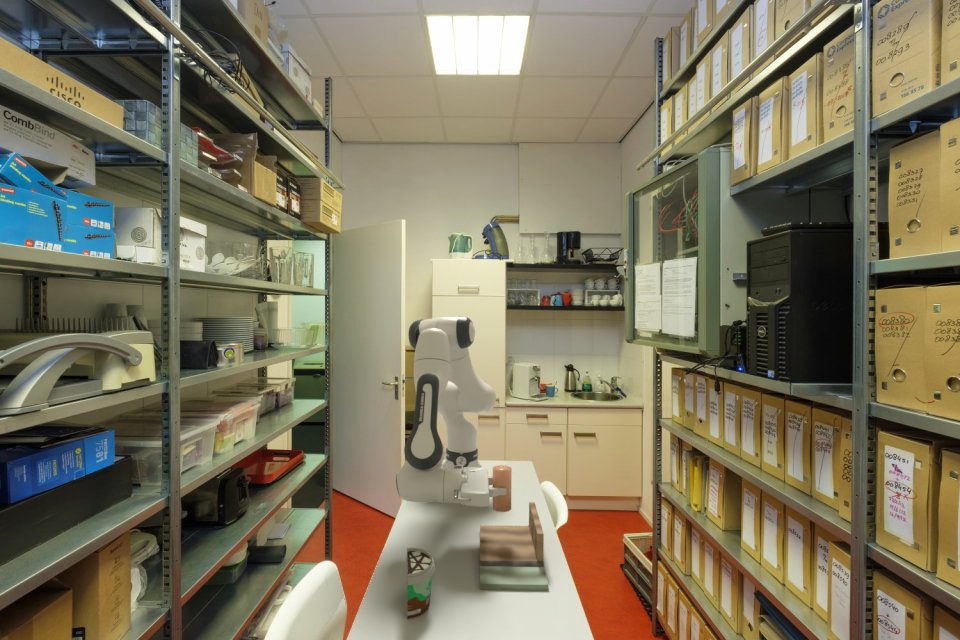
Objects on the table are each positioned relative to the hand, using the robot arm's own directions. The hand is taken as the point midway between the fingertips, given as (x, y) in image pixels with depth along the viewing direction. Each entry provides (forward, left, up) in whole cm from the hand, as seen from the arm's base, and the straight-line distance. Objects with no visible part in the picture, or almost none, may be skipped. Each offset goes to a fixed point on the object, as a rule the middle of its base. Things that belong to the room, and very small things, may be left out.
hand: (505, 486), depth 130 cm
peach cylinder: (0, -1, -6) cm, 6 cm away
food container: (+26, -20, -17) cm, 37 cm away
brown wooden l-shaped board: (+6, +1, -17) cm, 18 cm away
